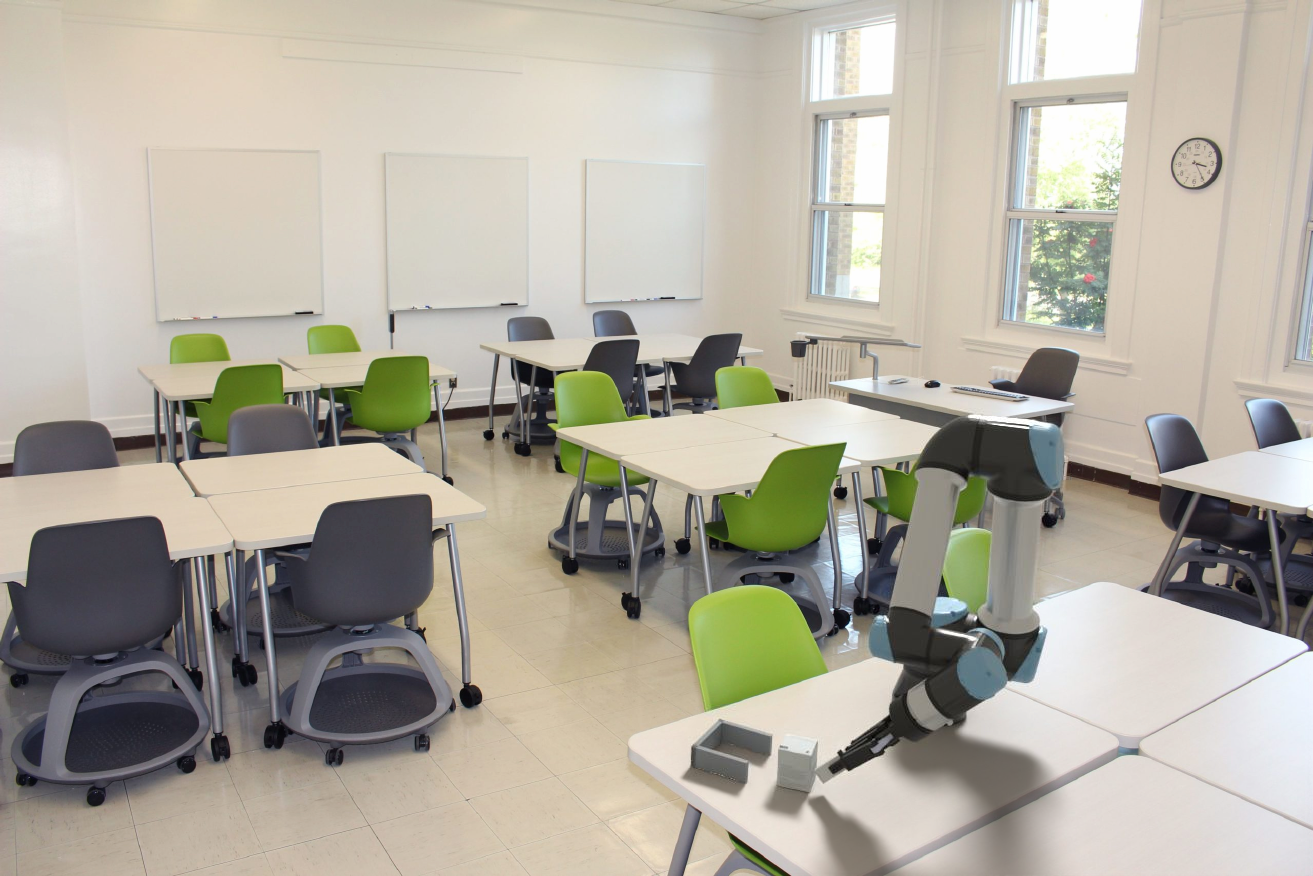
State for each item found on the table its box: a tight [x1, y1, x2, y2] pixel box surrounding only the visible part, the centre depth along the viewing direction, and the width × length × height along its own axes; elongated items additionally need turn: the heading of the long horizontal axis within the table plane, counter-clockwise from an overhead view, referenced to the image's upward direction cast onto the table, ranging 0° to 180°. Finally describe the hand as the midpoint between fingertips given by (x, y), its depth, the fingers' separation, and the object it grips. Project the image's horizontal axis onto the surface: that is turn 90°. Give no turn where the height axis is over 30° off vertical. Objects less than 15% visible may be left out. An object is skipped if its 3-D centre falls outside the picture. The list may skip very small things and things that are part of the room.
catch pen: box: [690, 718, 773, 784], centre depth 187 cm, size 12×11×4 cm
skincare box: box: [776, 733, 819, 793], centre depth 180 cm, size 6×6×7 cm
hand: (819, 775), depth 178 cm, fingers closed
